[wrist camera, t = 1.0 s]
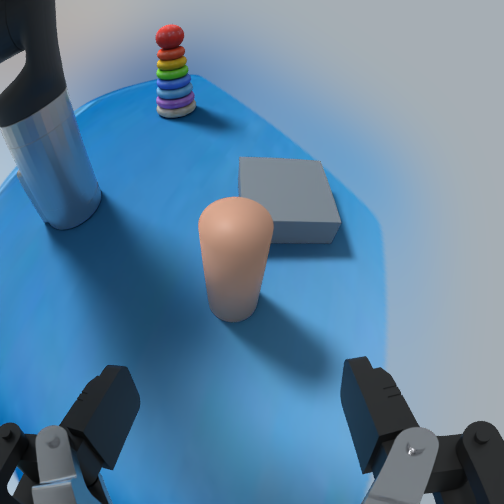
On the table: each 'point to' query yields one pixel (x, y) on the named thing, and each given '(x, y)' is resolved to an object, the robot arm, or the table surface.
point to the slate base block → (291, 197)
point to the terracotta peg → (234, 255)
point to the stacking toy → (173, 75)
